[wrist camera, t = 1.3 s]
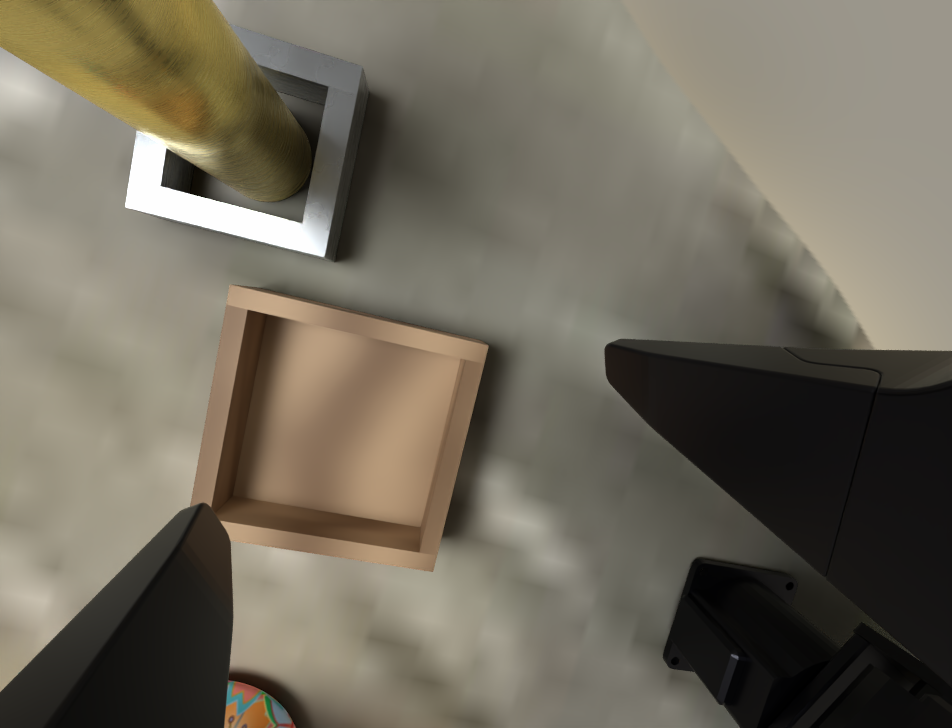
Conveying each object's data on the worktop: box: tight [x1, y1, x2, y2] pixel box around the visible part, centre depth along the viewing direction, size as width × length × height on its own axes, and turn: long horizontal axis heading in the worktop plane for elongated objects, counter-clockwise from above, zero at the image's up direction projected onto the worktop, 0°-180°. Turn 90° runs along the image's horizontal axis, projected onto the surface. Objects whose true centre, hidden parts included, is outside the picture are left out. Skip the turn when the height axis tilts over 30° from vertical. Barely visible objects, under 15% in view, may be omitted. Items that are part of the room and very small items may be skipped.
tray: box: [190, 285, 489, 572], centre depth 19 cm, size 10×10×3 cm
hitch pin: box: [0, 0, 312, 202], centre depth 11 cm, size 5×5×15 cm
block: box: [125, 24, 369, 262], centre depth 18 cm, size 8×8×2 cm
